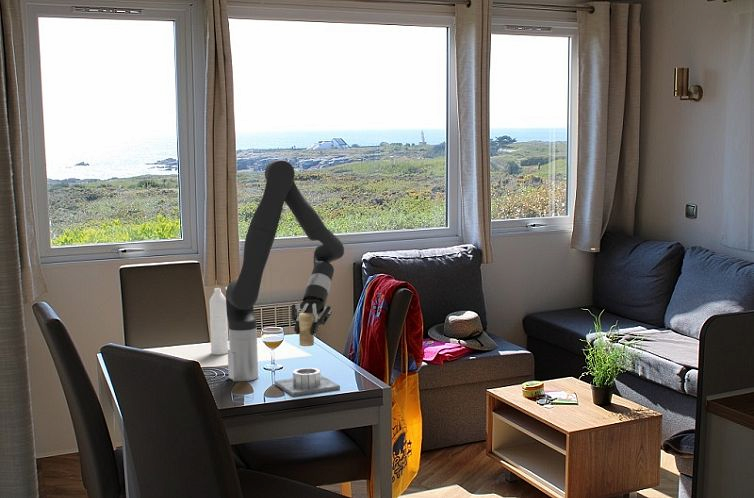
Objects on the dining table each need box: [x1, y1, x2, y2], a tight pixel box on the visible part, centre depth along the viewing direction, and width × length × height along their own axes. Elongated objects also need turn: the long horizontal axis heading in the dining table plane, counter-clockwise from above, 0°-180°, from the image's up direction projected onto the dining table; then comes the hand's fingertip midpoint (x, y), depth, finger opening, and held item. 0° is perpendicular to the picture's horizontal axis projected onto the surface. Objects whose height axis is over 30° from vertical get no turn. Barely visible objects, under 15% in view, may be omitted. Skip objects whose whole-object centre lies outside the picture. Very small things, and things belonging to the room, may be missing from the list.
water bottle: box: [208, 286, 230, 356], centre depth 329 cm, size 9×6×25 cm
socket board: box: [274, 367, 341, 397], centre depth 280 cm, size 16×16×5 cm
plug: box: [298, 312, 315, 347], centre depth 279 cm, size 5×5×10 cm
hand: (304, 333), depth 277 cm, fingers closed on plug, 4 cm apart
